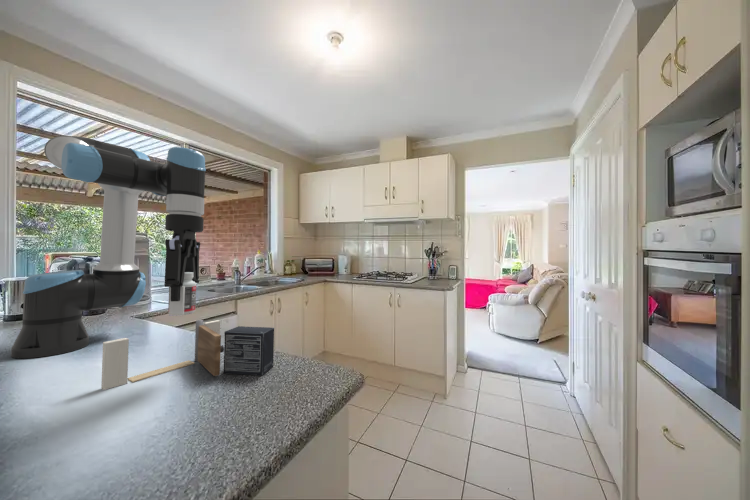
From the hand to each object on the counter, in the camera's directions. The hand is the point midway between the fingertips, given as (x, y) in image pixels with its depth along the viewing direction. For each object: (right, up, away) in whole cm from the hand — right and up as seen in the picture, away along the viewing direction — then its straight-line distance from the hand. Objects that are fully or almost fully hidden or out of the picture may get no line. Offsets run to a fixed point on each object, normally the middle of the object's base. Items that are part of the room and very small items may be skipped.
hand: (182, 312), depth 66 cm
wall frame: (-7, -16, +5) cm, 18 cm away
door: (+3, -15, +6) cm, 17 cm away
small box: (+13, -16, +6) cm, 22 cm away
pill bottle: (0, -1, 0) cm, 1 cm away
